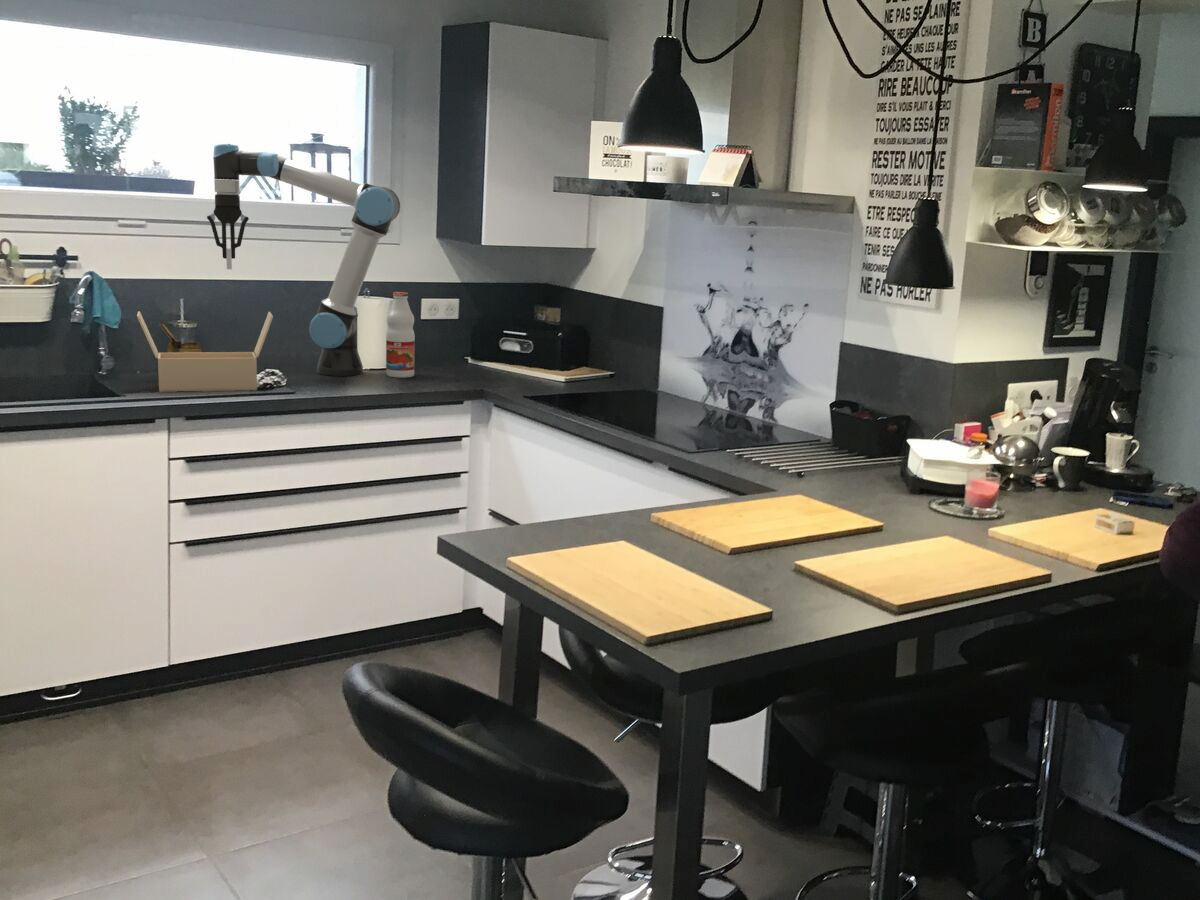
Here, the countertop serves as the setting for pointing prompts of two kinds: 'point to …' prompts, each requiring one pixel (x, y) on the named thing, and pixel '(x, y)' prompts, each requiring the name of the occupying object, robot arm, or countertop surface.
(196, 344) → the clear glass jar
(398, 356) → the fruit juice
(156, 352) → the flap
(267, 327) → the flap
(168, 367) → the carton
